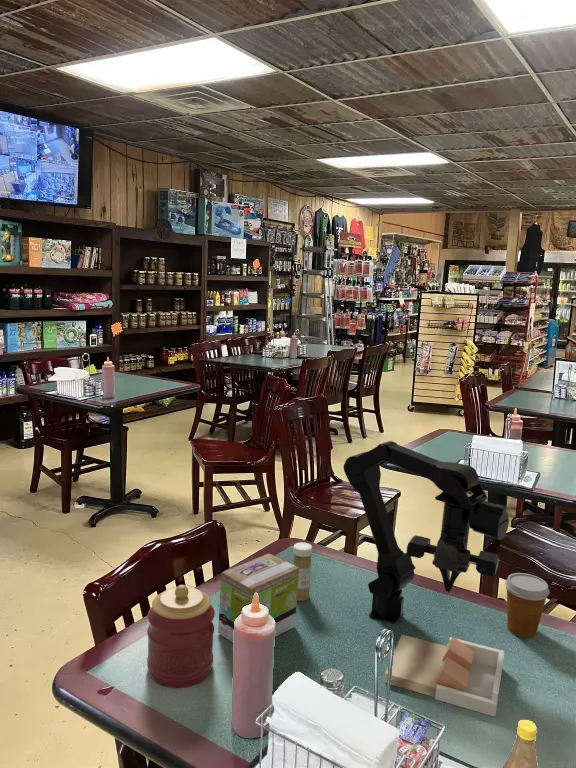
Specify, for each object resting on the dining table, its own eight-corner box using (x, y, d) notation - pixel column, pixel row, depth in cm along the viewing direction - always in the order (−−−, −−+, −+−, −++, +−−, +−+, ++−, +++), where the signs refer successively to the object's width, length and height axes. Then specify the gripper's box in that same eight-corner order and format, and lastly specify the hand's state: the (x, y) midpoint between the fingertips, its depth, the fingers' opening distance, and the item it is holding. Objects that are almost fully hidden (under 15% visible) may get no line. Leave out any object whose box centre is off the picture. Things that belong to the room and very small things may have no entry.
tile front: (435, 682, 122) (442, 670, 121) (440, 667, 126) (446, 656, 125) (458, 697, 120) (466, 686, 119) (463, 683, 125) (470, 671, 124)
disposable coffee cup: (520, 645, 139) (527, 595, 137) (491, 623, 148) (496, 575, 146) (553, 637, 143) (559, 588, 141) (522, 615, 152) (528, 569, 150)
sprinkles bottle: (306, 591, 158) (309, 541, 156) (311, 601, 154) (314, 549, 151) (289, 592, 157) (291, 542, 155) (293, 602, 153) (296, 550, 150)
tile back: (441, 660, 129) (448, 649, 128) (446, 647, 133) (452, 636, 132) (464, 674, 127) (471, 663, 126) (467, 661, 132) (474, 650, 131)
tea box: (248, 654, 131) (251, 588, 129) (217, 634, 138) (218, 571, 135) (297, 627, 142) (300, 565, 140) (265, 609, 149) (267, 550, 146)
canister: (216, 650, 132) (219, 571, 129) (208, 690, 119) (210, 604, 116) (154, 647, 132) (155, 568, 129) (139, 687, 119) (140, 601, 116)
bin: (435, 699, 120) (436, 680, 120) (448, 654, 135) (449, 637, 134) (495, 716, 116) (497, 697, 115) (502, 668, 131) (504, 651, 130)
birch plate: (384, 682, 124) (385, 673, 124) (401, 642, 138) (402, 634, 138) (435, 697, 121) (436, 688, 120) (447, 655, 134) (448, 646, 134)
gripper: (403, 527, 132) (396, 596, 134) (496, 548, 124) (486, 621, 127) (416, 510, 141) (409, 574, 144) (503, 528, 134) (494, 596, 137)
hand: (448, 591), depth 138 cm, fingers closed
